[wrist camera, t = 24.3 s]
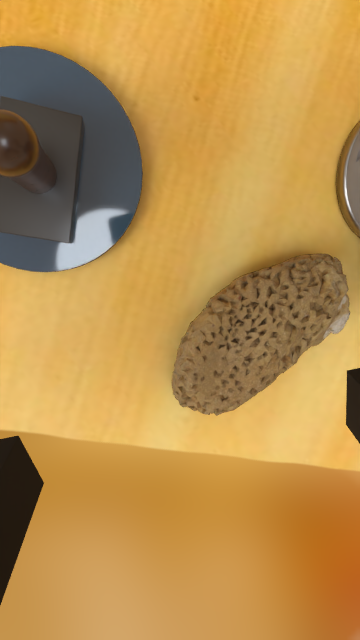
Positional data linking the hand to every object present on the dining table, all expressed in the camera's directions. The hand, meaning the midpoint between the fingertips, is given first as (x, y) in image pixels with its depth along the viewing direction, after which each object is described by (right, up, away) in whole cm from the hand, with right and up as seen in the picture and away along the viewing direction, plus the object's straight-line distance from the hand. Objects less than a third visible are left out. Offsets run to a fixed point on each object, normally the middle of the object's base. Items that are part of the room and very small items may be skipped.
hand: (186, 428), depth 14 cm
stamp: (-12, +17, +16) cm, 26 cm away
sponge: (+7, +4, +25) cm, 26 cm away
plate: (-13, +18, +17) cm, 28 cm away
